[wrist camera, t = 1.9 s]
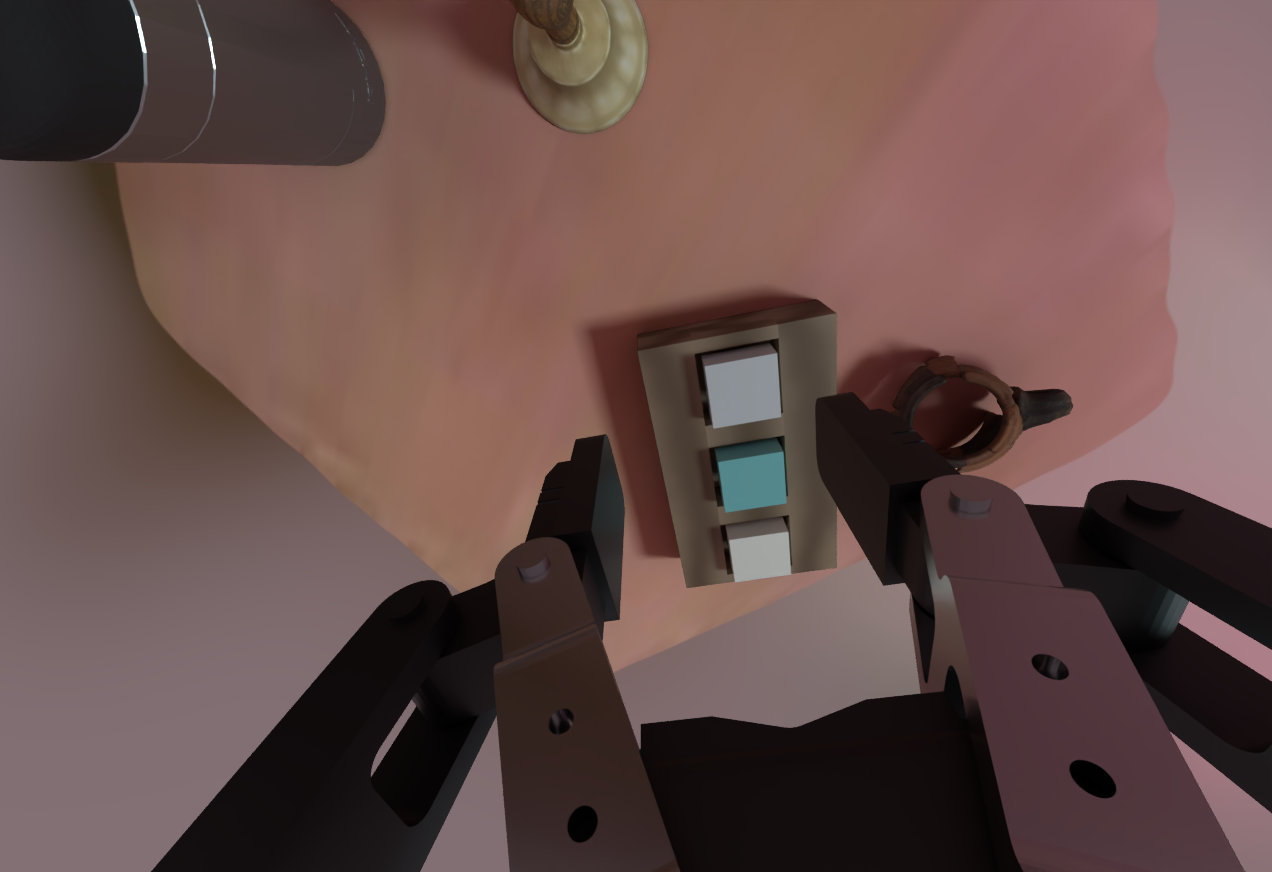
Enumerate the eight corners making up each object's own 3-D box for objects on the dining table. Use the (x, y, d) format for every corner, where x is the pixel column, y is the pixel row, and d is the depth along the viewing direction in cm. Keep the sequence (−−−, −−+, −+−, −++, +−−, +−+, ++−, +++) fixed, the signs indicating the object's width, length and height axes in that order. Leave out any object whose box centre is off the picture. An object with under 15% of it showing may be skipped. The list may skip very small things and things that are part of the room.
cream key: (730, 564, 45) (734, 582, 43) (725, 523, 43) (729, 540, 41) (784, 557, 45) (791, 574, 43) (781, 515, 42) (788, 531, 41)
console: (683, 558, 49) (686, 588, 46) (637, 334, 38) (637, 351, 35) (822, 538, 48) (836, 567, 44) (817, 299, 37) (836, 313, 33)
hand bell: (514, 126, 31) (413, 90, 17) (511, -46, 27) (376, -270, 13) (640, 140, 32) (640, 117, 18) (655, -27, 28) (670, -226, 14)
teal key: (721, 496, 42) (725, 512, 40) (714, 447, 39) (718, 462, 37) (779, 487, 41) (786, 503, 39) (776, 437, 39) (783, 451, 37)
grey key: (709, 415, 38) (713, 428, 36) (701, 355, 35) (704, 366, 33) (773, 404, 37) (781, 417, 35) (769, 343, 35) (777, 353, 33)
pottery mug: (901, 471, 45) (909, 494, 37) (871, 374, 45) (873, 378, 37) (1063, 437, 39) (1110, 456, 32) (1030, 326, 39) (1069, 320, 32)
